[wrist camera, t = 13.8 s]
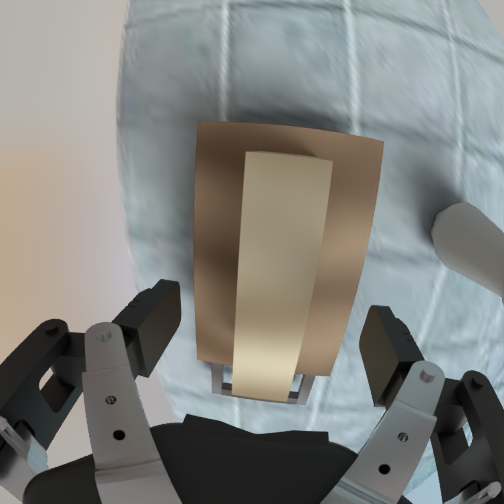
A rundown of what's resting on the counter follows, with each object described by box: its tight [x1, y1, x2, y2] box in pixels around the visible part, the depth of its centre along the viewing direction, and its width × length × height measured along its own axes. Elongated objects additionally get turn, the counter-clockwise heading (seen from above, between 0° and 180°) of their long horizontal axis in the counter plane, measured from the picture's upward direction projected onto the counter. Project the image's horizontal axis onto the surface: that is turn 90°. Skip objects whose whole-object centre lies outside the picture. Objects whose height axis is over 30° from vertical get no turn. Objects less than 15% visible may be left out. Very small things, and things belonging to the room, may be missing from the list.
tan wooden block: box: [194, 122, 384, 405], centre depth 18 cm, size 25×10×10 cm, turn 176°
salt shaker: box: [430, 202, 504, 305], centre depth 14 cm, size 6×6×13 cm
